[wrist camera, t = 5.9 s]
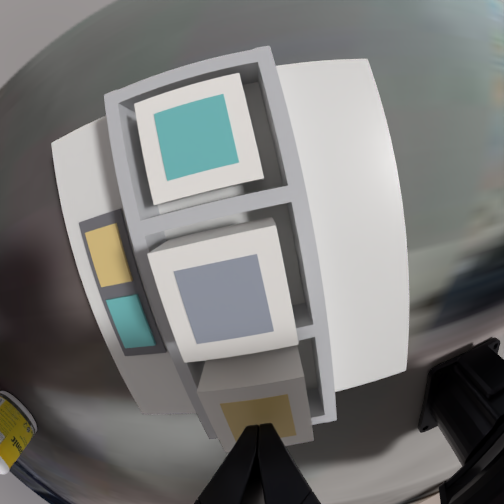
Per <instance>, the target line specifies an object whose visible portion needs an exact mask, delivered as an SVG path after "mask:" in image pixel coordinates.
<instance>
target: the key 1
mask: <svg viewBox="0 0 504 504" xmlns="http://www.w3.org/2000/svg"><path fill="white" fill-rule="evenodd" d="M134 107H135V113H136V119H137V125H138V131H139V137H140V142H141V147H142V153H143V158H144V163H145V168H146V172H147V177H148V182H149V186H150V191H151V195H152V199H153V204H154V205H158V204H163V203H167V202H172V201H176V200H180V199H183V198H187V197H191V196H195V195H199V194H203V193H207V192H211V191H215V190H219V189H224V188H228V187H232V186H237V185H241V184H245V183H250V182H255V181H259V180H263V179H264V175H263V171H262V166H261V162H260V157H259V153H258V148H257V144H256V140H255V136H254V131H253V127H252V123H251V119H250V114H249V110H248V106H247V102H246V98H245V94H244V90H243V86H242V82H241V78H240V74H239V73H235V74H231V75H226V76H222V77H218V78H214V79H210V80H206V81H202V82H199V83H195V84H192V85H188V86H185V87H181V88H178V89H175V90H172V91H169V92H166V93H163V94H160V95H157V96H154V97H151V98H148V99H146V100H143V101H140V102H138V103H135V104H134Z"/></svg>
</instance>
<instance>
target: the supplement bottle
mask: <svg viewBox="0 0 504 504" xmlns="http://www.w3.org/2000/svg"><path fill="white" fill-rule="evenodd" d="M36 431H37V425H36V422H35V420H34V418H33V417H32V415H31V414H30V412H29V411H28V410H27V409H26V407H25V406H24V405H23V404H22V403H21V402H20V401H19V400H18V399H16V398H15V397H14V396H13V395H11V394H10V393H8V392H6V391H0V474H6V473H7V472H8V471H9V470H10V469H11V467H12V466H13V464H14V463H15V461H16V460H17V458H18V457H19V455H20V454H21V453H22V451H23V450H24V448H25V447H26V446H27V444H28V443H29V442H30V440H31V439H32V437H33V436H34V435H35V433H36Z"/></svg>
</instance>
